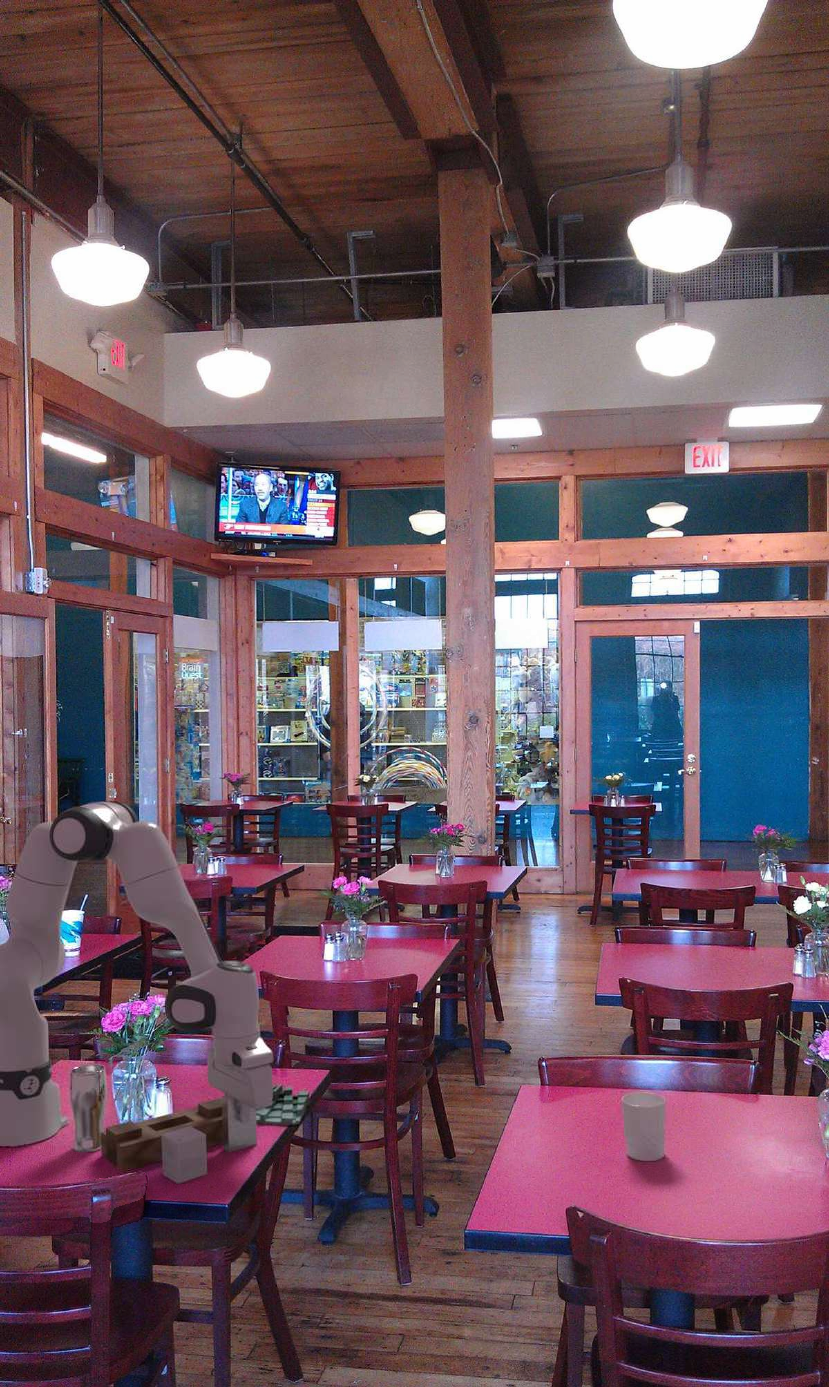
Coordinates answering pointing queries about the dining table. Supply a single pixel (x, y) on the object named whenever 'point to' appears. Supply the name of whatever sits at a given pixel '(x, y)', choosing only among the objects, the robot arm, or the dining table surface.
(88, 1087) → the beer glass
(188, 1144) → the product box
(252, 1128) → the bracket
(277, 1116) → the money
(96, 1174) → the dining table surface
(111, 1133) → the wooden display stand
